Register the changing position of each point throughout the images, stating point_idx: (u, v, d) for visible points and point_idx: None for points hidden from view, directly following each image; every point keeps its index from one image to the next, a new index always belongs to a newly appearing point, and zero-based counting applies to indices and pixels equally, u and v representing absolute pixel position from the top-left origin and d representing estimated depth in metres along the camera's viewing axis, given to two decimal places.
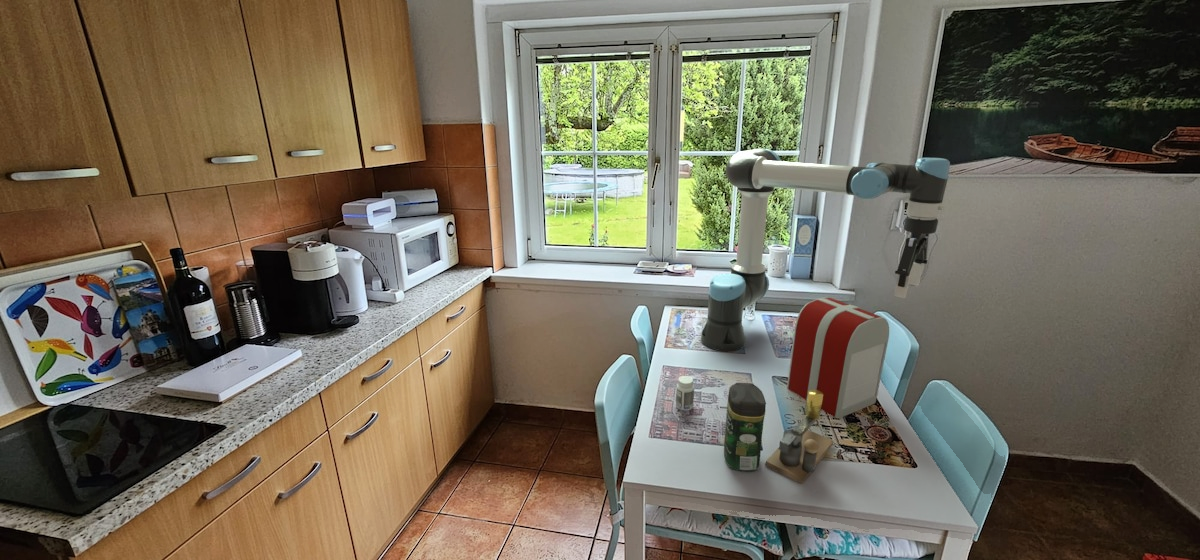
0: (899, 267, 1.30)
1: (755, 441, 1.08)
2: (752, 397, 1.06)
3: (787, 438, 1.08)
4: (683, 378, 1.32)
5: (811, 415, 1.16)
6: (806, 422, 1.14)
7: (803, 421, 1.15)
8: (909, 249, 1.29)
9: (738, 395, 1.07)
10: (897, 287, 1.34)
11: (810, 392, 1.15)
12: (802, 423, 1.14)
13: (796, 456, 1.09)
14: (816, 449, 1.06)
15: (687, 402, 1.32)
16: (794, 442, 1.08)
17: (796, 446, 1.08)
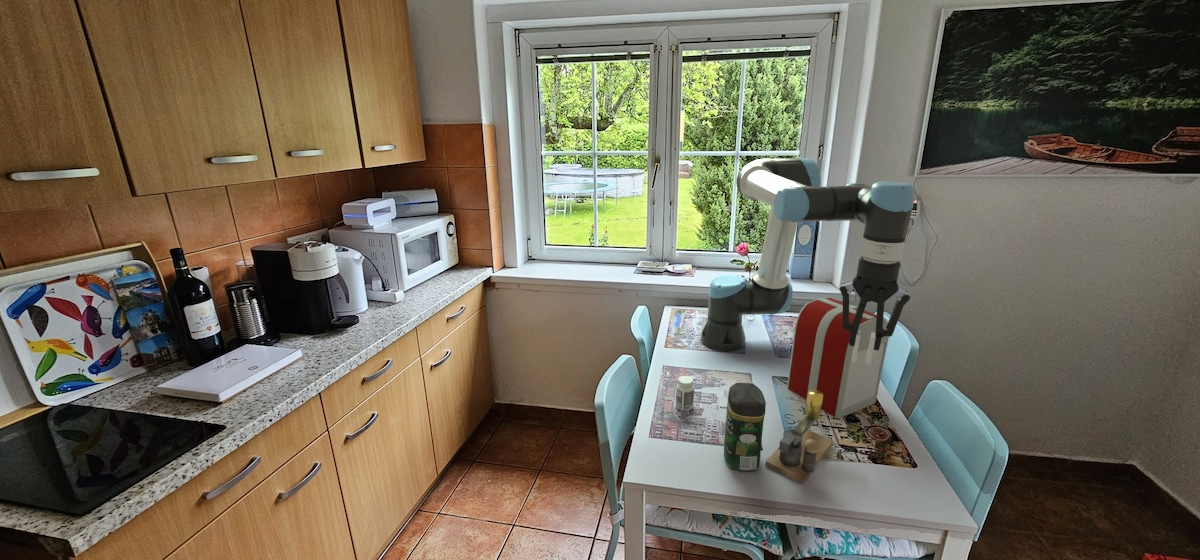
0: None
1: (755, 441, 1.08)
2: (752, 397, 1.06)
3: (787, 438, 1.08)
4: (683, 378, 1.32)
5: (811, 415, 1.16)
6: (806, 422, 1.14)
7: (803, 421, 1.15)
8: None
9: (738, 395, 1.07)
10: None
11: (810, 392, 1.15)
12: (802, 423, 1.14)
13: (796, 456, 1.09)
14: (816, 449, 1.06)
15: (687, 402, 1.32)
16: (794, 442, 1.08)
17: (796, 446, 1.08)
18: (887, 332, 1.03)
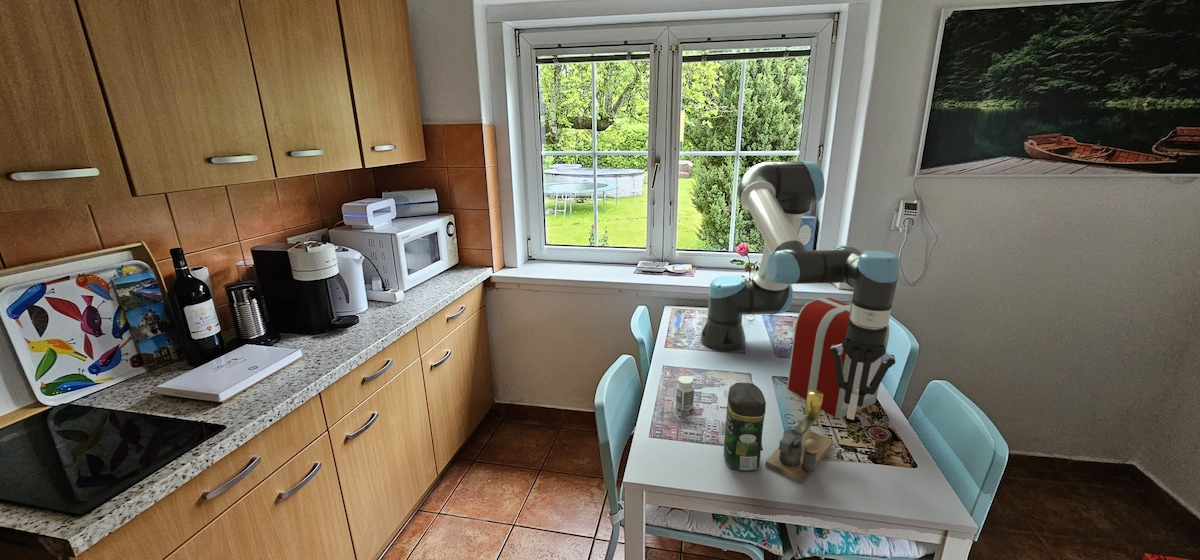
0: None
1: (755, 441, 1.08)
2: (752, 397, 1.06)
3: (787, 438, 1.08)
4: (683, 378, 1.32)
5: (811, 415, 1.16)
6: (806, 422, 1.14)
7: (803, 421, 1.15)
8: None
9: (738, 395, 1.07)
10: None
11: (810, 392, 1.15)
12: (802, 423, 1.14)
13: (796, 456, 1.09)
14: (816, 449, 1.06)
15: (687, 402, 1.32)
16: (794, 442, 1.08)
17: (796, 446, 1.08)
18: (870, 390, 1.08)
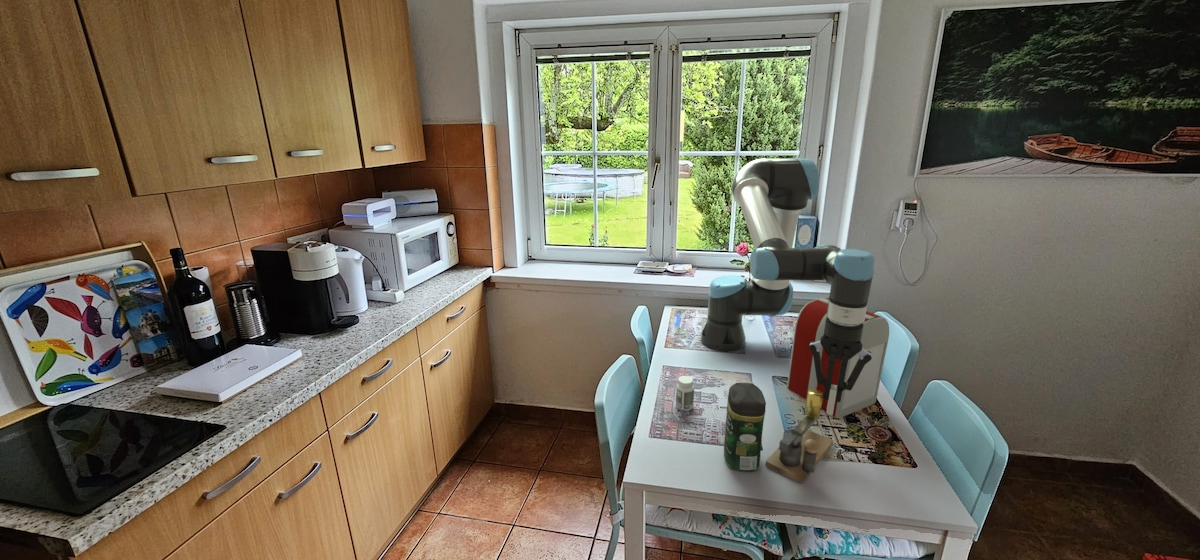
0: None
1: (755, 441, 1.08)
2: (752, 397, 1.06)
3: (787, 438, 1.08)
4: (683, 378, 1.32)
5: (811, 415, 1.16)
6: (806, 422, 1.14)
7: (803, 421, 1.15)
8: None
9: (738, 395, 1.07)
10: None
11: (810, 392, 1.16)
12: (802, 423, 1.14)
13: (796, 456, 1.09)
14: (816, 449, 1.06)
15: (687, 402, 1.32)
16: (794, 442, 1.08)
17: (796, 446, 1.08)
18: (847, 386, 1.10)
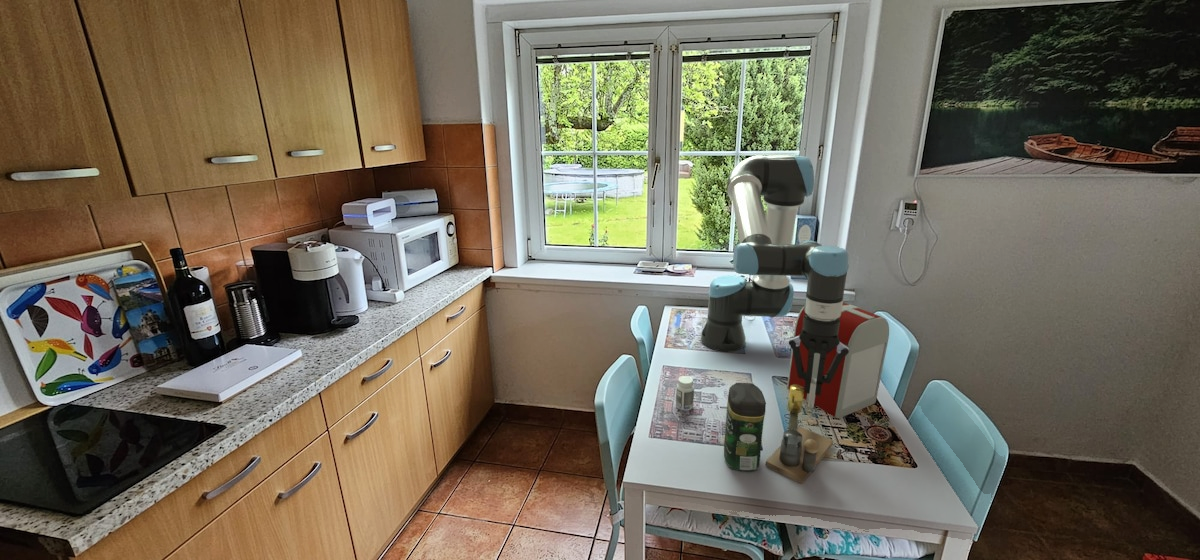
0: None
1: (755, 441, 1.08)
2: (752, 397, 1.06)
3: (791, 440, 1.07)
4: (683, 378, 1.32)
5: (795, 410, 1.18)
6: (794, 418, 1.16)
7: (791, 418, 1.16)
8: None
9: (738, 395, 1.07)
10: None
11: (792, 388, 1.17)
12: (792, 420, 1.15)
13: (796, 456, 1.09)
14: (816, 449, 1.06)
15: (687, 402, 1.32)
16: (797, 442, 1.08)
17: (799, 445, 1.08)
18: (826, 379, 1.13)
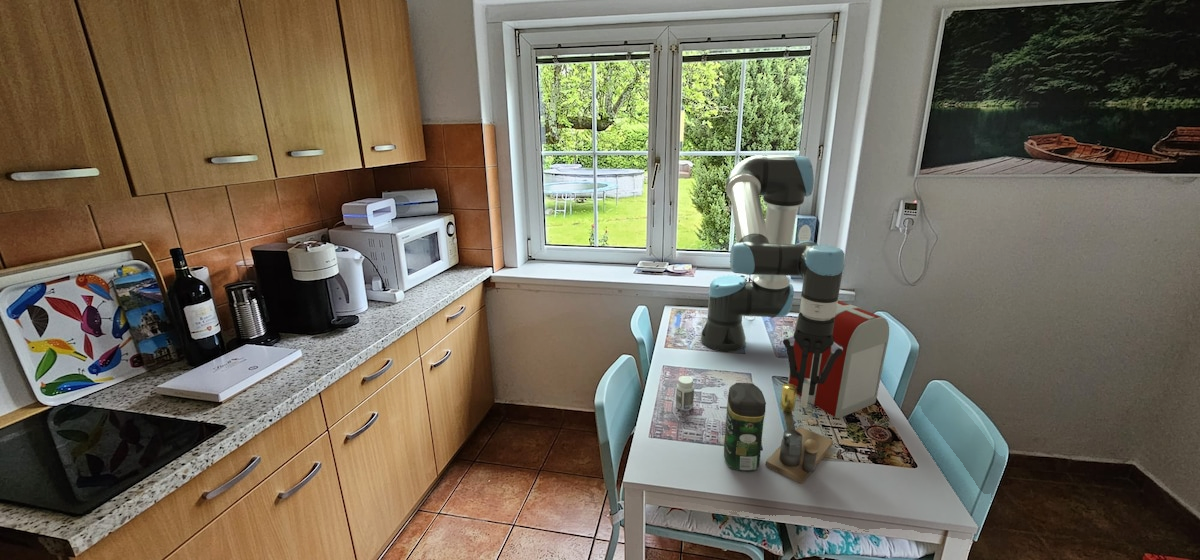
0: None
1: (755, 441, 1.08)
2: (752, 397, 1.06)
3: (793, 440, 1.07)
4: (683, 378, 1.32)
5: (789, 409, 1.18)
6: (789, 417, 1.16)
7: (786, 417, 1.16)
8: None
9: (738, 395, 1.07)
10: None
11: (785, 387, 1.18)
12: (788, 420, 1.15)
13: (796, 456, 1.09)
14: (816, 449, 1.06)
15: (687, 402, 1.32)
16: (799, 442, 1.08)
17: (800, 445, 1.09)
18: (820, 380, 1.13)
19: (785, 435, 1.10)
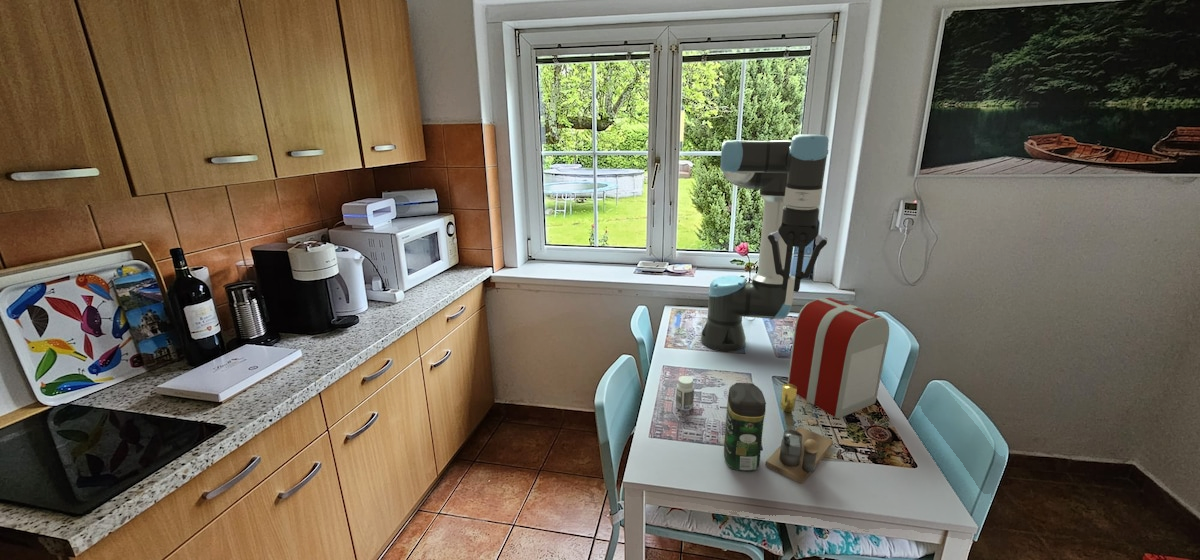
0: None
1: (755, 441, 1.08)
2: (752, 397, 1.06)
3: (793, 440, 1.07)
4: (683, 378, 1.32)
5: (789, 409, 1.18)
6: (789, 417, 1.16)
7: (786, 417, 1.16)
8: None
9: (738, 395, 1.07)
10: None
11: (785, 387, 1.18)
12: (788, 420, 1.15)
13: (796, 456, 1.09)
14: (816, 449, 1.06)
15: (687, 402, 1.32)
16: (799, 442, 1.08)
17: (800, 445, 1.09)
18: (805, 274, 1.13)
19: (785, 435, 1.10)
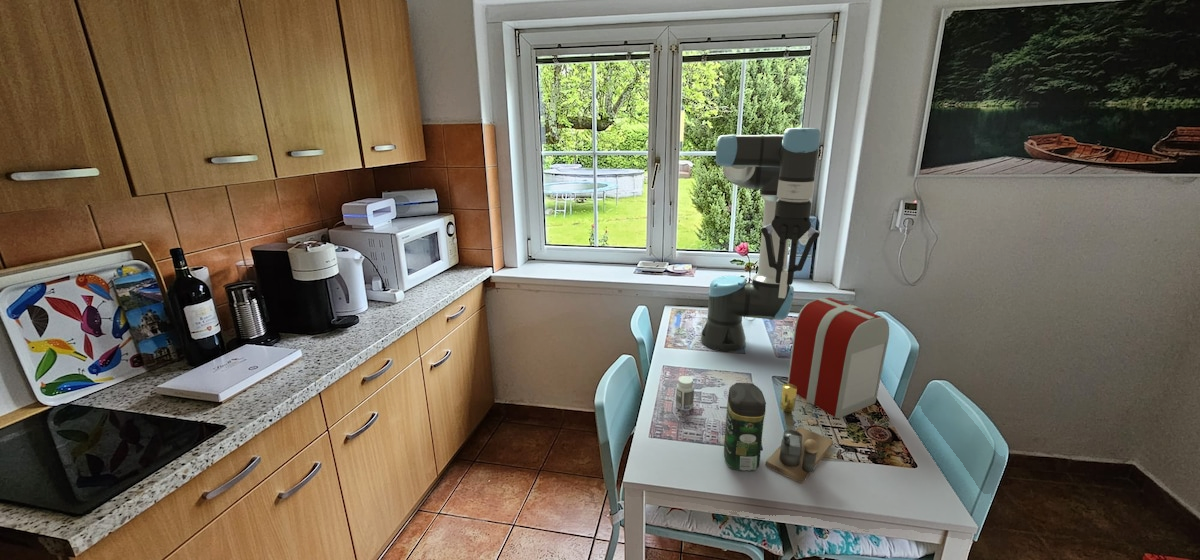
0: None
1: (755, 441, 1.08)
2: (752, 397, 1.06)
3: (793, 440, 1.07)
4: (683, 378, 1.32)
5: (789, 409, 1.18)
6: (789, 417, 1.16)
7: (786, 417, 1.16)
8: None
9: (738, 395, 1.07)
10: None
11: (785, 387, 1.18)
12: (788, 420, 1.15)
13: (796, 456, 1.09)
14: (816, 449, 1.06)
15: (687, 402, 1.32)
16: (799, 442, 1.08)
17: (800, 445, 1.09)
18: (797, 267, 1.13)
19: (785, 435, 1.10)
